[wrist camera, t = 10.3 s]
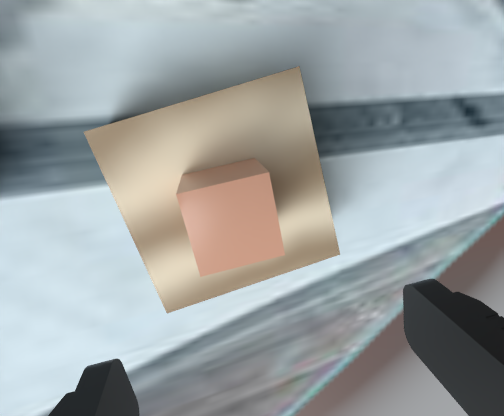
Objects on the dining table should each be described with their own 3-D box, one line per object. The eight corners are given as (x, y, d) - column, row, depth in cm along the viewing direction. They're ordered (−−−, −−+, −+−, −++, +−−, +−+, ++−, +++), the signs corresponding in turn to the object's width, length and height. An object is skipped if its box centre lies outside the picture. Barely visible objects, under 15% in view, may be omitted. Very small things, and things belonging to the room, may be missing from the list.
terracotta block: (181, 174, 22) (175, 194, 17) (254, 157, 22) (269, 172, 17) (200, 242, 23) (200, 276, 18) (268, 225, 23) (285, 255, 19)
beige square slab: (109, 125, 25) (83, 132, 20) (277, 74, 26) (299, 66, 21) (173, 274, 30) (167, 313, 25) (314, 226, 31) (340, 254, 25)
